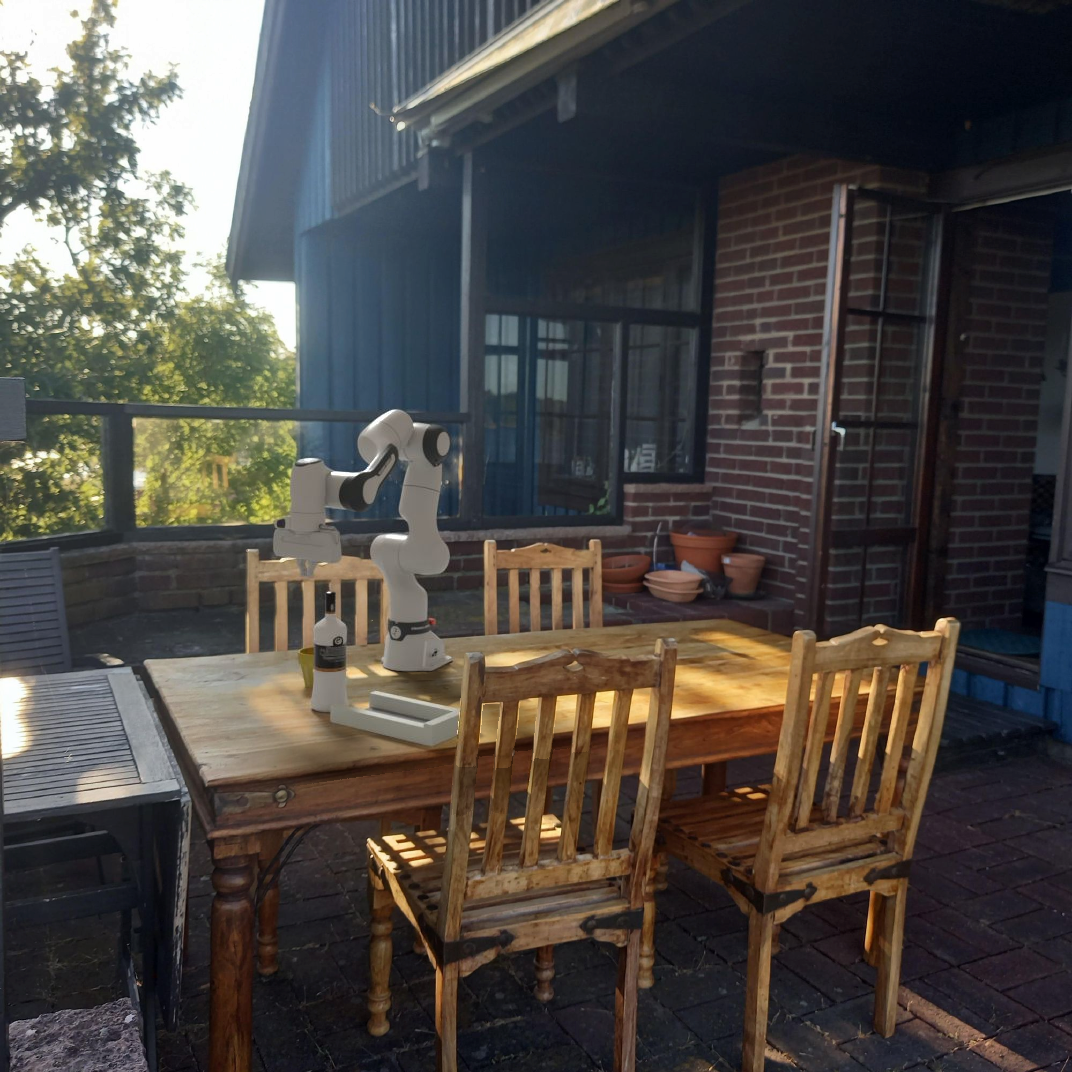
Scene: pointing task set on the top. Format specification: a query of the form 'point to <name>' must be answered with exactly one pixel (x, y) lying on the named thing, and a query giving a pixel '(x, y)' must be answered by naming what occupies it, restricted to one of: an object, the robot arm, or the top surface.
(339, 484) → the robot arm
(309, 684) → the plant pot
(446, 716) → the cradle
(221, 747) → the top surface
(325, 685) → the vodka
